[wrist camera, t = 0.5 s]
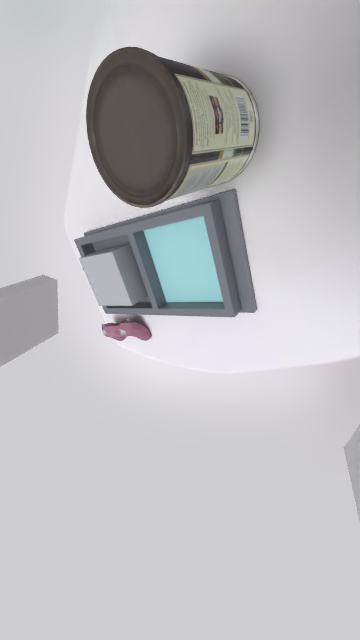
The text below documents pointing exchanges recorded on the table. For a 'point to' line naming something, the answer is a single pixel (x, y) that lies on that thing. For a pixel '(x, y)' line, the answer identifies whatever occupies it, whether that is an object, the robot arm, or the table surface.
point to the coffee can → (167, 127)
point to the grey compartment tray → (172, 262)
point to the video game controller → (126, 330)
